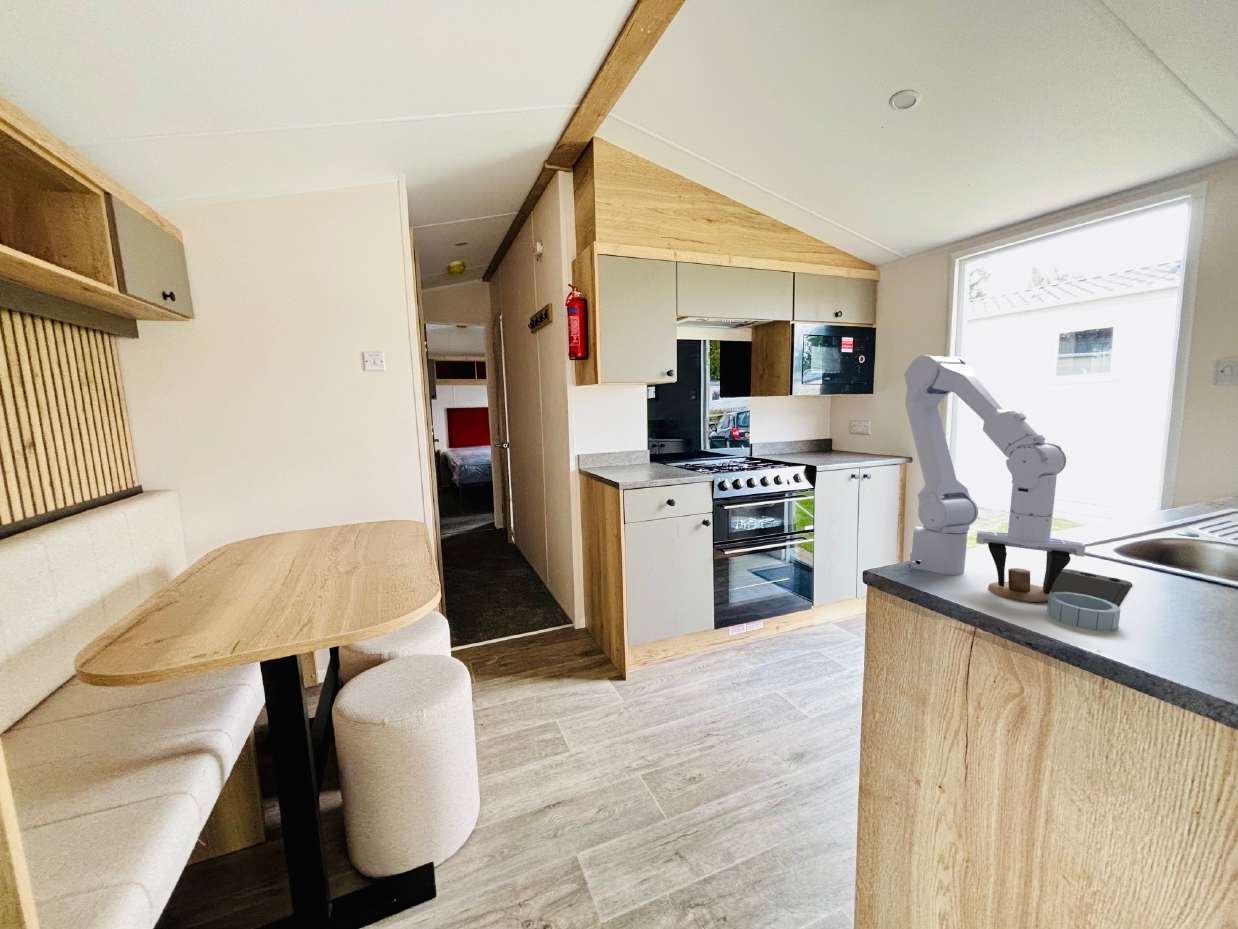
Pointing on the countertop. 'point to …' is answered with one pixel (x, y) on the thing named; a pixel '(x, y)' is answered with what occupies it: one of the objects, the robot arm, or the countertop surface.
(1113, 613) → the bowl
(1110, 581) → the gaming console
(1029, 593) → the lid
